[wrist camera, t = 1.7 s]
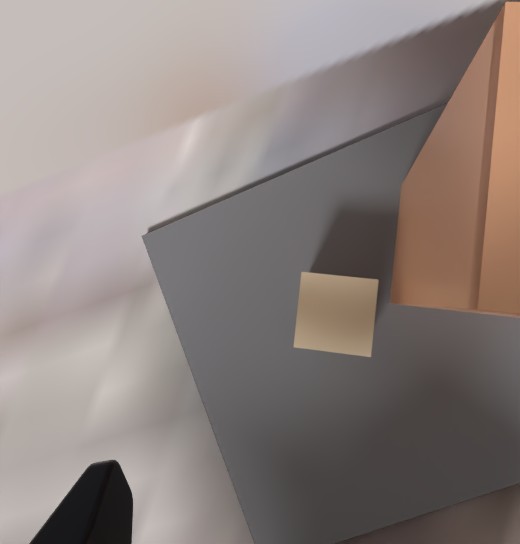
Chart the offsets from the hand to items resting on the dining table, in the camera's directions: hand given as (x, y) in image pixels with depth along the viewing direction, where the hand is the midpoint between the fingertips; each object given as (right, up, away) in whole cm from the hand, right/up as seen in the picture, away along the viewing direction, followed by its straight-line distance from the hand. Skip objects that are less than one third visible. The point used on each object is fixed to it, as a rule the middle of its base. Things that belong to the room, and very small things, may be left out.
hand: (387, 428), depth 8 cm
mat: (+5, +1, +15) cm, 15 cm away
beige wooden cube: (+2, +1, +15) cm, 15 cm away
